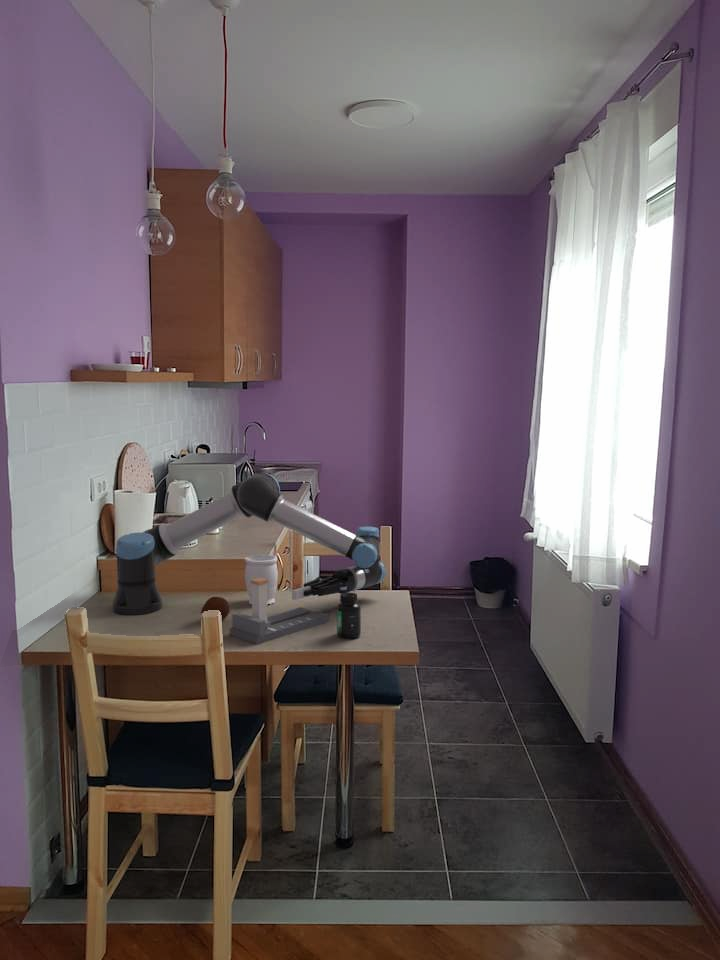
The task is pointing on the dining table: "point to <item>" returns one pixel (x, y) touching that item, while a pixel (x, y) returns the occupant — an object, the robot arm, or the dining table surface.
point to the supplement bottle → (348, 617)
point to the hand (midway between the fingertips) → (293, 595)
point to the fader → (260, 599)
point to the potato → (217, 606)
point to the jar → (262, 574)
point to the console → (274, 624)
